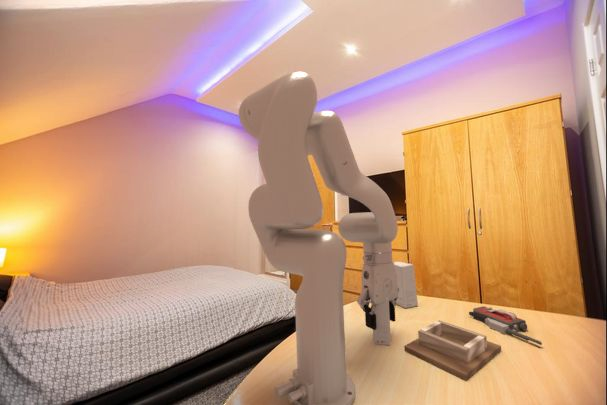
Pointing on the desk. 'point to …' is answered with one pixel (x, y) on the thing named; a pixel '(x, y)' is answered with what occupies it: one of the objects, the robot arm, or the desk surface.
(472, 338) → the socket board
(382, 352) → the desk surface
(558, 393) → the desk surface
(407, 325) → the desk surface
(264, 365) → the desk surface
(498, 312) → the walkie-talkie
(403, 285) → the skincare box
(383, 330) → the skincare box
